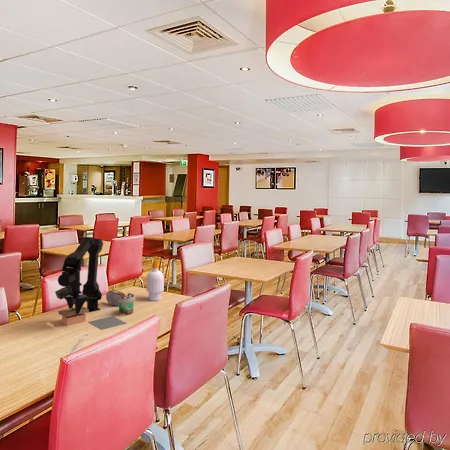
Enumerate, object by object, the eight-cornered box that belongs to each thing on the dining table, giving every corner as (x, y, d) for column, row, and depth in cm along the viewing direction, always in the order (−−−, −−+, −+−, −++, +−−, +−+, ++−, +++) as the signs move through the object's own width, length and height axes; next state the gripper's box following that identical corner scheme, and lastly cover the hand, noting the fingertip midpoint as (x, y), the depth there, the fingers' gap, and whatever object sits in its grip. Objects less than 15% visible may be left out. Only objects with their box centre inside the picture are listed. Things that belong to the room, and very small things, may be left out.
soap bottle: (157, 302, 235) (158, 262, 233) (142, 300, 239) (143, 261, 236) (166, 298, 245) (167, 259, 242) (151, 296, 248) (152, 258, 246)
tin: (127, 307, 225) (127, 293, 224) (123, 308, 222) (123, 294, 221) (109, 302, 233) (109, 288, 232) (105, 303, 230) (105, 289, 229)
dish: (62, 324, 195) (61, 315, 194) (80, 320, 201) (80, 311, 201) (66, 327, 191) (66, 318, 190) (85, 323, 198) (85, 314, 197)
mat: (87, 323, 197) (87, 322, 197) (112, 317, 207) (112, 316, 207) (101, 331, 187) (101, 329, 187) (127, 324, 197) (127, 323, 197)
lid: (58, 313, 194) (58, 309, 193) (82, 308, 202) (82, 304, 202) (64, 317, 189) (64, 312, 189) (88, 312, 197) (88, 307, 197)
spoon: (91, 337, 181) (91, 334, 180) (73, 357, 160) (73, 353, 160) (82, 337, 181) (82, 333, 181) (62, 356, 160) (62, 352, 160)
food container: (129, 318, 206) (129, 300, 205) (118, 317, 207) (118, 298, 206) (138, 311, 218) (139, 293, 217) (128, 310, 219) (128, 292, 218)
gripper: (49, 280, 195) (49, 310, 196) (65, 288, 182) (66, 320, 183) (71, 276, 203) (71, 306, 204) (88, 284, 190) (88, 315, 191)
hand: (73, 312), depth 196 cm, fingers closed on lid, 7 cm apart
